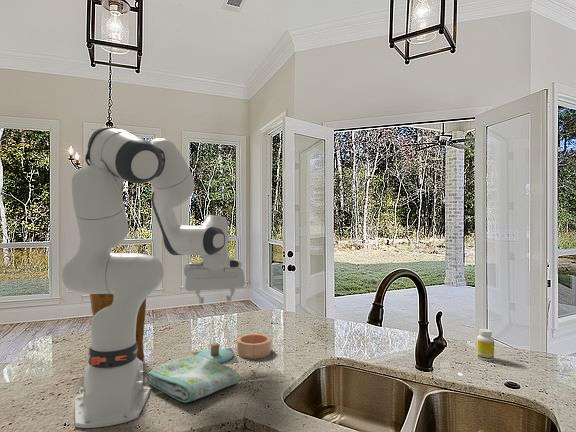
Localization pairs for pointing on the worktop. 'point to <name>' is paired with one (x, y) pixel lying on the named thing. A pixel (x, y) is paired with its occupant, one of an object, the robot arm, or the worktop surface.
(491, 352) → the supplement bottle
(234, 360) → the mat
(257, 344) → the bowl
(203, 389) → the towel
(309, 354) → the worktop surface
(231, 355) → the lid
